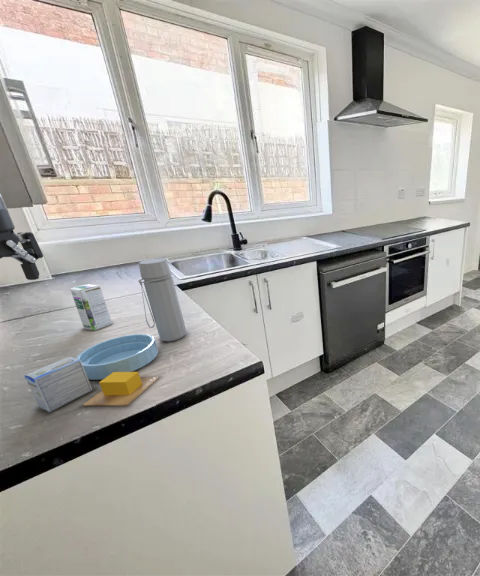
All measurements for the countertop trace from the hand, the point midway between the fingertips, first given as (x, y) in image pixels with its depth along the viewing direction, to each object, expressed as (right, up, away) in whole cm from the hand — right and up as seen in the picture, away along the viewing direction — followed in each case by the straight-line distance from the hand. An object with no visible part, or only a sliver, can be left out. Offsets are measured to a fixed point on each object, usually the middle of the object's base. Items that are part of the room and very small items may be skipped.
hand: (11, 285), depth 66 cm
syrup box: (-18, -14, +40) cm, 46 cm away
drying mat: (+18, -25, +7) cm, 32 cm away
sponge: (+18, -25, +7) cm, 31 cm away
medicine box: (+7, -26, +4) cm, 28 cm away
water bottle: (+13, -17, +31) cm, 38 cm away
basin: (+8, -21, +18) cm, 29 cm away
